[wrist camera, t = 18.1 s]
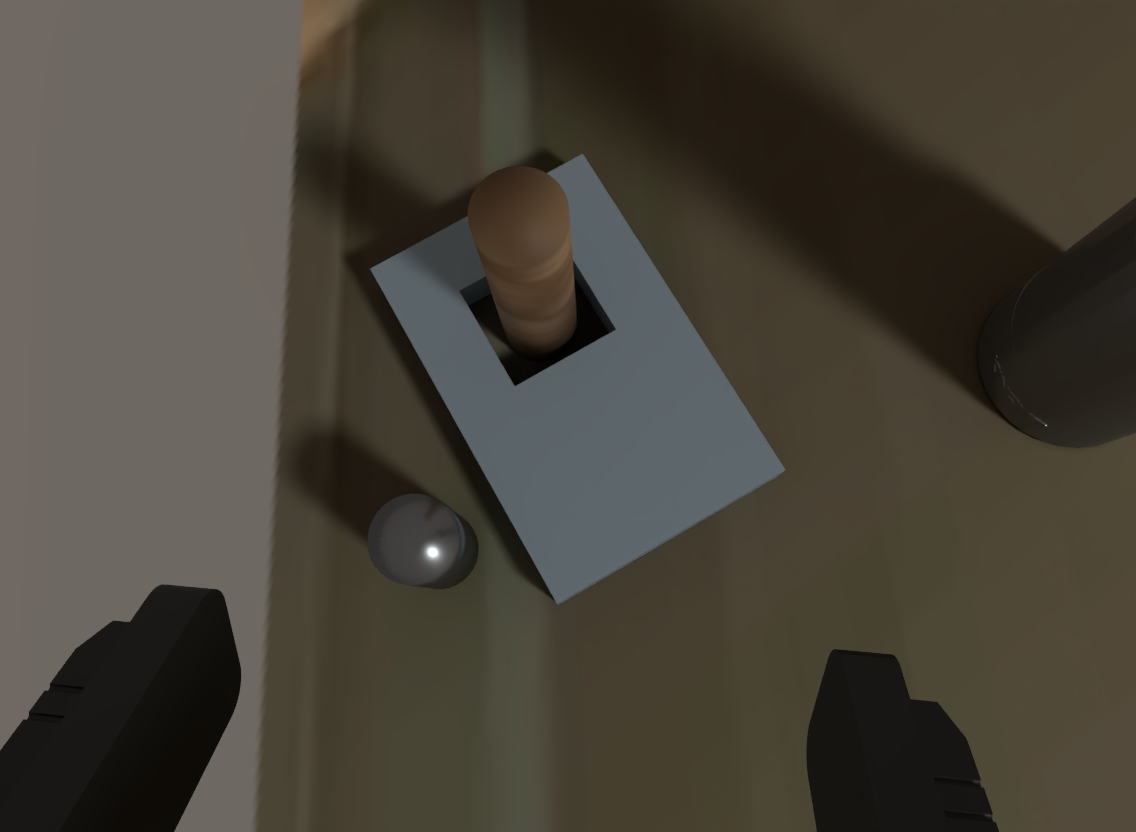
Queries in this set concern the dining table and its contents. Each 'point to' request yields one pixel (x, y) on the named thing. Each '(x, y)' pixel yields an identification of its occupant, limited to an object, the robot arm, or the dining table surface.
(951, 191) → the dining table surface
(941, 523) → the dining table surface
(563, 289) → the long pin
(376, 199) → the dining table surface
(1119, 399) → the robot arm
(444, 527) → the short pin
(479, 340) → the hole board
